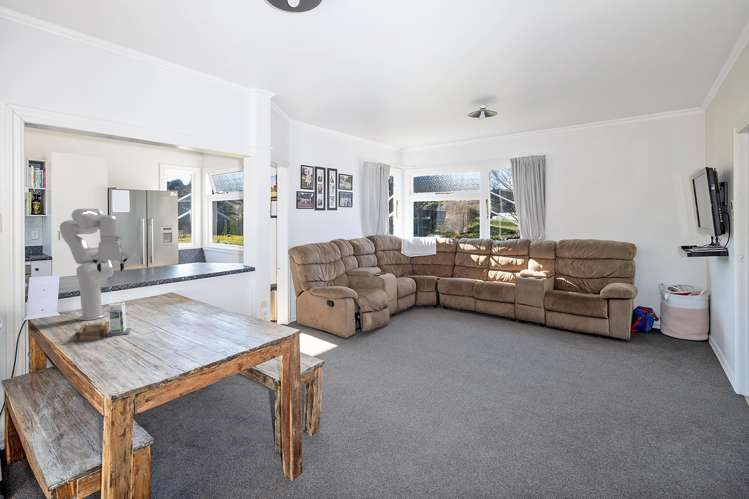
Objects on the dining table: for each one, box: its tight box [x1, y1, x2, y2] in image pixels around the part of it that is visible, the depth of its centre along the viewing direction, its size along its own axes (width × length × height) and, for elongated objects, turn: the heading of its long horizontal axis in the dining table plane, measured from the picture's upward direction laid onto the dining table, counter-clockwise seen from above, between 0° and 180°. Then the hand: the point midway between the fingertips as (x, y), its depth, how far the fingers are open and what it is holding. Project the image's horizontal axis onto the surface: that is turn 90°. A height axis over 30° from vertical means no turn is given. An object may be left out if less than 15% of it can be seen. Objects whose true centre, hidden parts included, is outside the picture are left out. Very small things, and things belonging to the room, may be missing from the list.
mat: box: [106, 327, 132, 337], centre depth 196 cm, size 10×9×1 cm
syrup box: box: [108, 302, 127, 333], centre depth 195 cm, size 6×6×14 cm
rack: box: [75, 321, 110, 343], centre depth 191 cm, size 16×11×4 cm
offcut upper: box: [86, 321, 104, 330], centre depth 195 cm, size 5×6×2 cm
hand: (111, 271), depth 205 cm, fingers open, 9 cm apart
